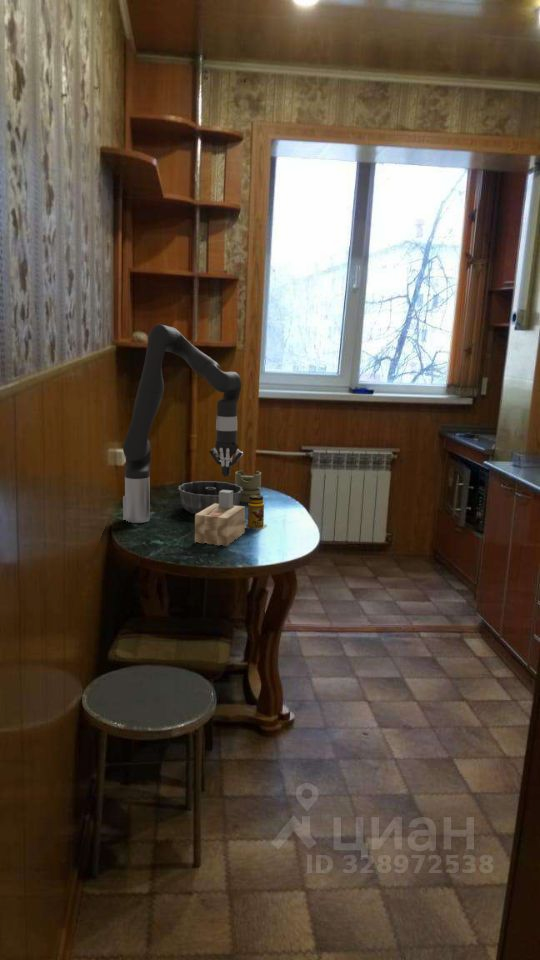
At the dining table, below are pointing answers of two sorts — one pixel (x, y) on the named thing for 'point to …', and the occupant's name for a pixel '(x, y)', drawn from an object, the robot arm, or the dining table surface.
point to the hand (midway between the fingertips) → (226, 476)
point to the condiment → (255, 512)
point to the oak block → (219, 525)
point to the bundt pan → (206, 494)
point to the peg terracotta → (215, 513)
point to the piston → (248, 484)
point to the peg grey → (226, 499)
